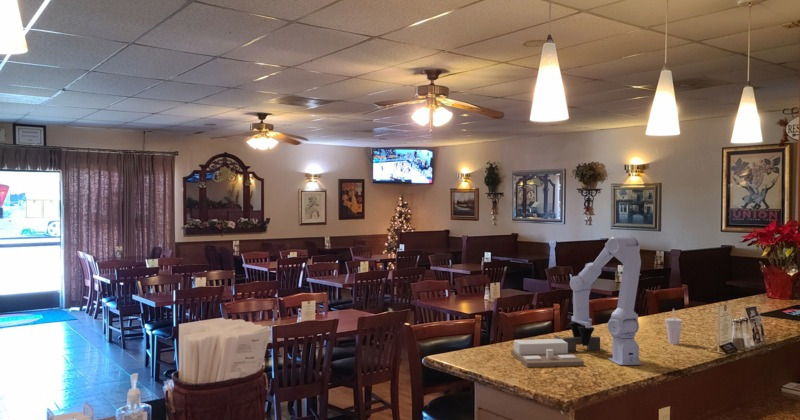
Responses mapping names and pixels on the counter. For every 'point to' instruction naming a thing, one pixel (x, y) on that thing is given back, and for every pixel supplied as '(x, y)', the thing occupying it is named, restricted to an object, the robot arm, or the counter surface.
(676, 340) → the smoothie
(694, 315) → the counter surface
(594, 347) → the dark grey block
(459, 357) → the counter surface
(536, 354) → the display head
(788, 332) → the counter surface
